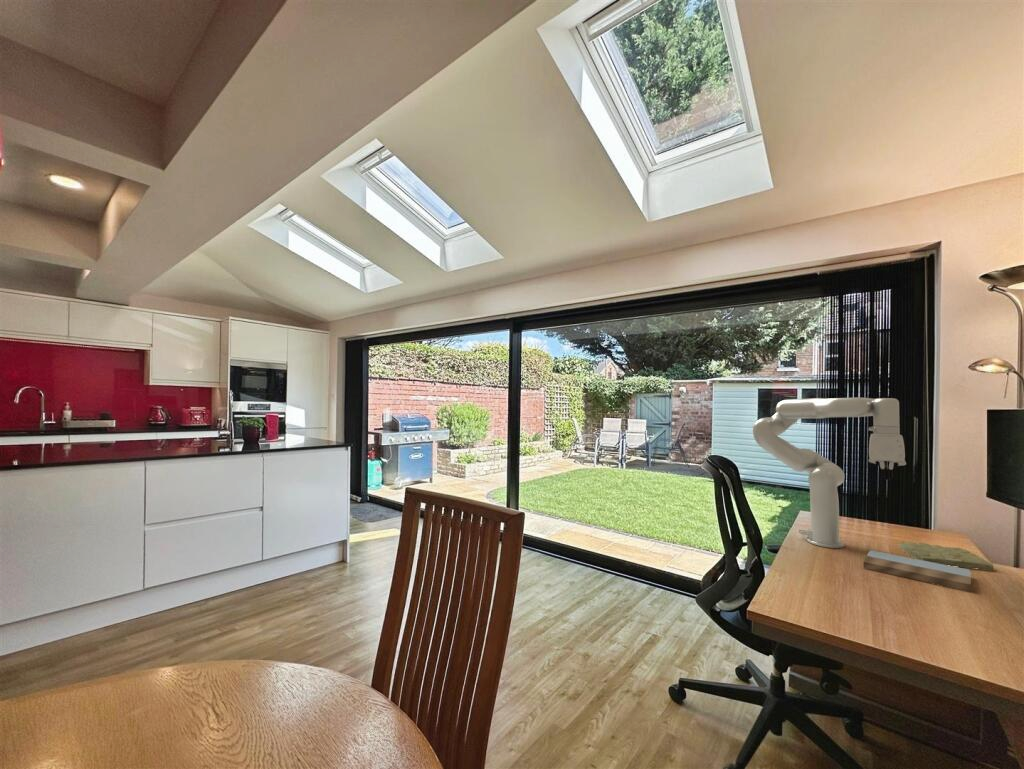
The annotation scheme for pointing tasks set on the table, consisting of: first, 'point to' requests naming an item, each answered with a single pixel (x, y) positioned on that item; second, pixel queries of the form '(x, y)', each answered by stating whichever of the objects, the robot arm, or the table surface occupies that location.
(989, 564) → the decorative tile
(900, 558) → the grey-blue plank
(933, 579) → the walnut plank
